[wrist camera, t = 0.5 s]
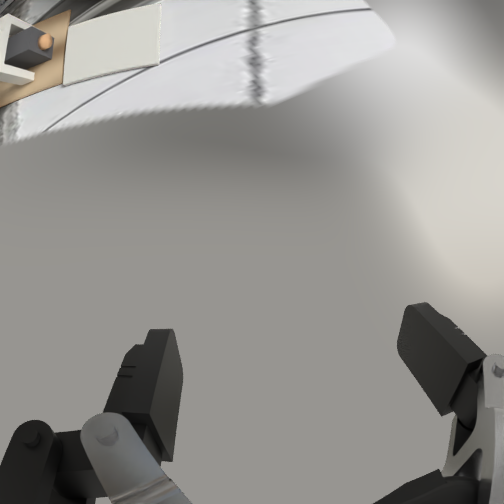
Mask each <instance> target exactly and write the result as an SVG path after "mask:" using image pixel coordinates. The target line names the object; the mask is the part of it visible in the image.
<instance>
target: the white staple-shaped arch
mask: <svg viewBox="0 0 504 504" xmlns="http://www.w3.org/2000/svg"><path fill="white" fill-rule="evenodd" d="M31 26H32V25H30V24H28V23H26V22H24V21H22V20H20V19H18V18H16V17H14V16H12V15H10V14H6V15H5V16H3V17H1V18H0V81H2V82H7V83H12V84H17V85H24V84H27V83H29V82H31V81H34V75H35V73H34V72H31V71H27V70H24V69H21V68H17V67H14V66H10V65H6V64H4V61H5V55H6V48H7V43H8V37H9V35H11V36H13V35H15V34H17V33H19V32H21V31H23V30H25V29H27V28H29V27H31ZM33 27H34V26H33ZM35 28H36V27H35ZM37 29H38V28H37ZM39 30H40V29H39Z"/></svg>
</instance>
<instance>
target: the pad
mask: <svg viewBox="0 0 504 504" xmlns="http://www.w3.org/2000/svg"><path fill="white" fill-rule="evenodd" d="M161 10H162V5H161V3H159V4H153V5H148V6H142V7H137V8H133V9H128V10H124V11H120V12H116V13H112V14H108V15H105V16H101V17H98V18H94V19H91V20H88V21H85V22H82V23H79V24H76V25H73V26H70V27H69V28H68V35H67V43H66V52H65V63H64V77H63V85H65V86H67V85H71V84H74V83H77V82H81V81H85V80H88V79H92V78H96V77H100V76H104V75H108V74H113V73H117V72H122V71H127V70H132V69H137V68H143V67H149V66H155V65H159V56H160V27H161Z"/></svg>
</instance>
